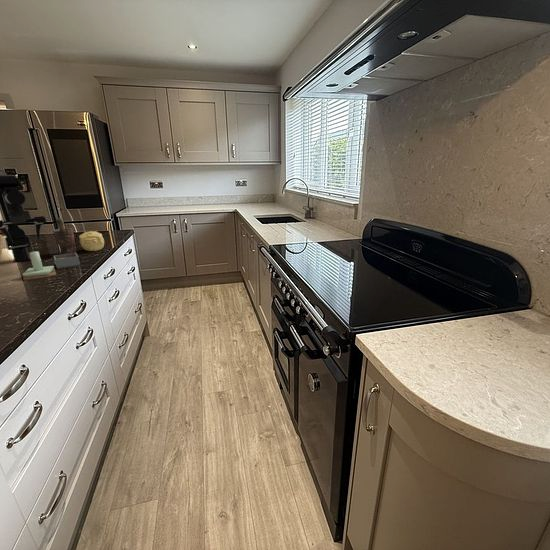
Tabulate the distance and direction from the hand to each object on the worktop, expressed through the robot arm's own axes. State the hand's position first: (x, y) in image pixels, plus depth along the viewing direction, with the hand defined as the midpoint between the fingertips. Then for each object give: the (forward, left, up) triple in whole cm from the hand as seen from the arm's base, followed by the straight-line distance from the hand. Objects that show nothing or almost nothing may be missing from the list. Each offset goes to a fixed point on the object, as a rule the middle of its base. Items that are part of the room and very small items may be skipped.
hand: (25, 241), depth 133 cm
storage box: (+4, +13, -13) cm, 19 cm away
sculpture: (-22, +28, -13) cm, 38 cm away
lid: (+13, +2, -12) cm, 18 cm away
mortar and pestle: (-20, +16, -13) cm, 29 cm away
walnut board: (+13, +2, -13) cm, 18 cm away
